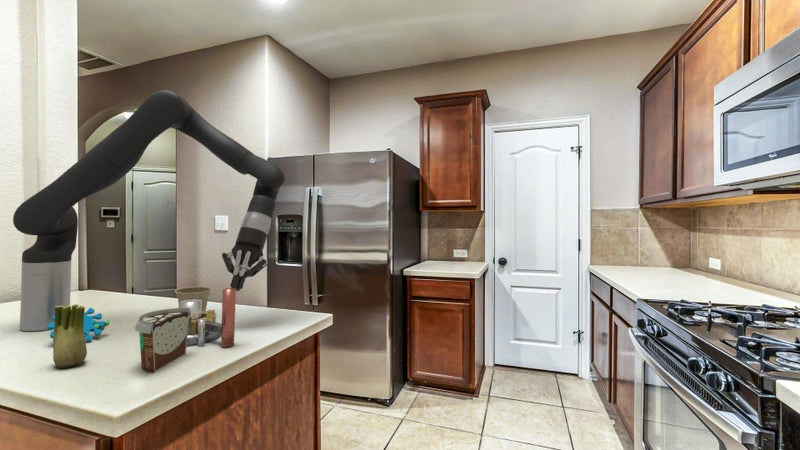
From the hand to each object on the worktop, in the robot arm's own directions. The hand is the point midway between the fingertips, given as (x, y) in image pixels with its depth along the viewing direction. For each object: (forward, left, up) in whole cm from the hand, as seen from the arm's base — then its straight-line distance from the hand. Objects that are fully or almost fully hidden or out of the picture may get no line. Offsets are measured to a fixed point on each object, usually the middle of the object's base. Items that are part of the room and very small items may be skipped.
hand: (235, 290), depth 95 cm
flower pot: (-18, -5, -11) cm, 22 cm away
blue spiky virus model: (-14, -30, -11) cm, 35 cm away
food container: (+12, -20, -11) cm, 26 cm away
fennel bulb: (+4, -32, -11) cm, 34 cm away
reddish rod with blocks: (+4, -9, -11) cm, 14 cm away
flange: (0, -10, -11) cm, 15 cm away
